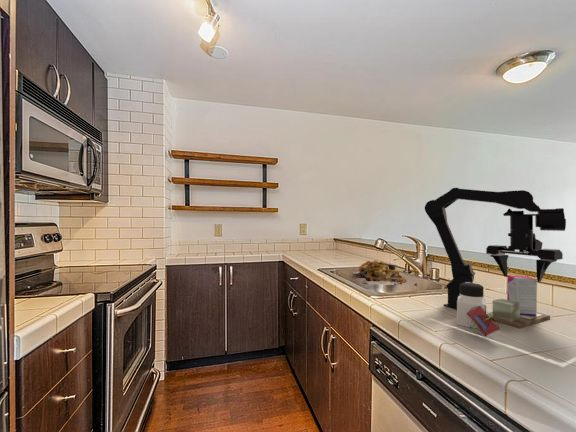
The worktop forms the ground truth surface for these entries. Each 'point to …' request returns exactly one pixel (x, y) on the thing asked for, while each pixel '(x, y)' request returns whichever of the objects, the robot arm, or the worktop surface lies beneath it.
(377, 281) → the brown irregular low mound
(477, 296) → the medicine bottle
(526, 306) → the supplement box
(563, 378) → the worktop surface
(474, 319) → the geometric puzzle
